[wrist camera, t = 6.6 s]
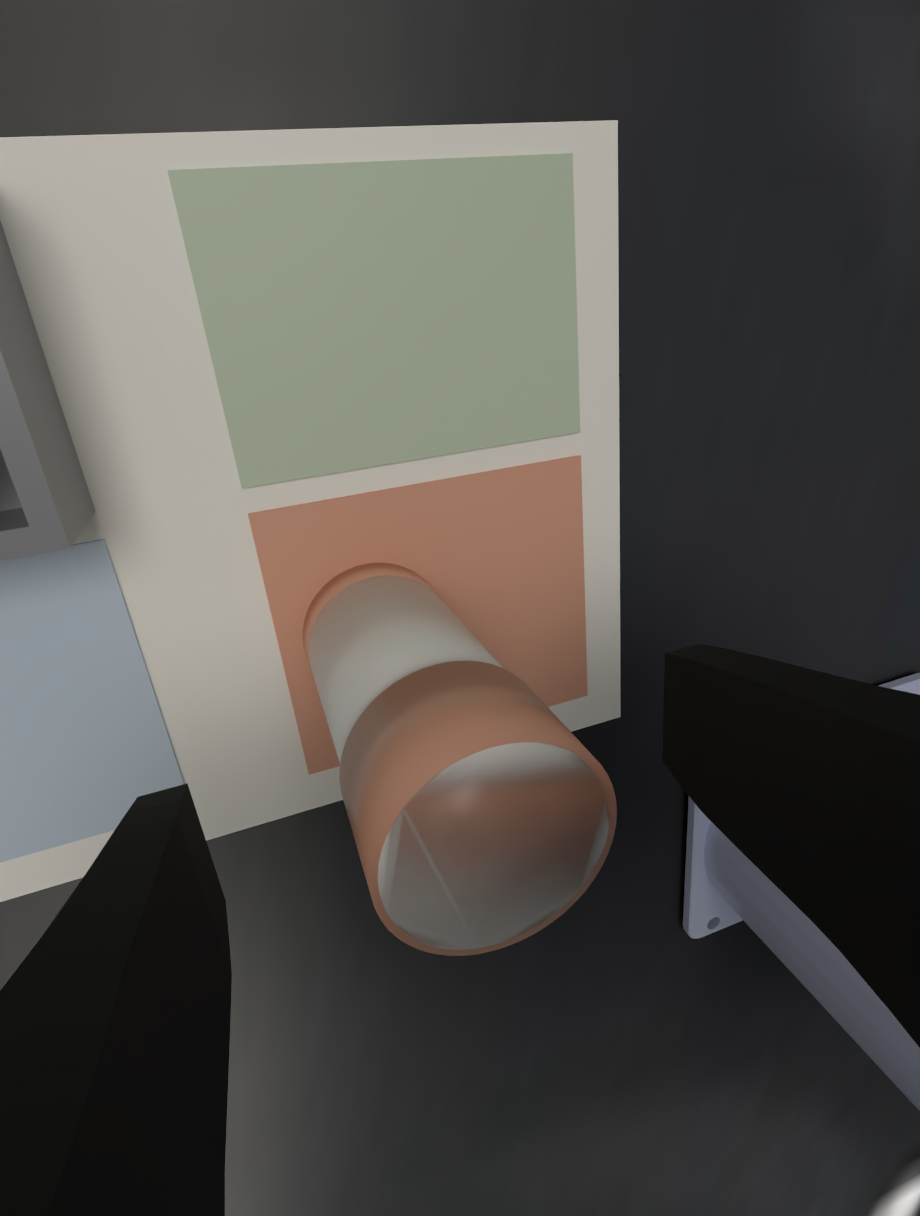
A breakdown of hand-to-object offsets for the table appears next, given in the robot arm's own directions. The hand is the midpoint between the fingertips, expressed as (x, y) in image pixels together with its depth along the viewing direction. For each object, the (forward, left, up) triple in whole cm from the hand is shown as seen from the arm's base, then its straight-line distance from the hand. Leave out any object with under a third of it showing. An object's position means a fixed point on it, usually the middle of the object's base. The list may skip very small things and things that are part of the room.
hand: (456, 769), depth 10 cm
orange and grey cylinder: (0, 0, -5) cm, 5 cm away
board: (+2, -3, -6) cm, 7 cm away
